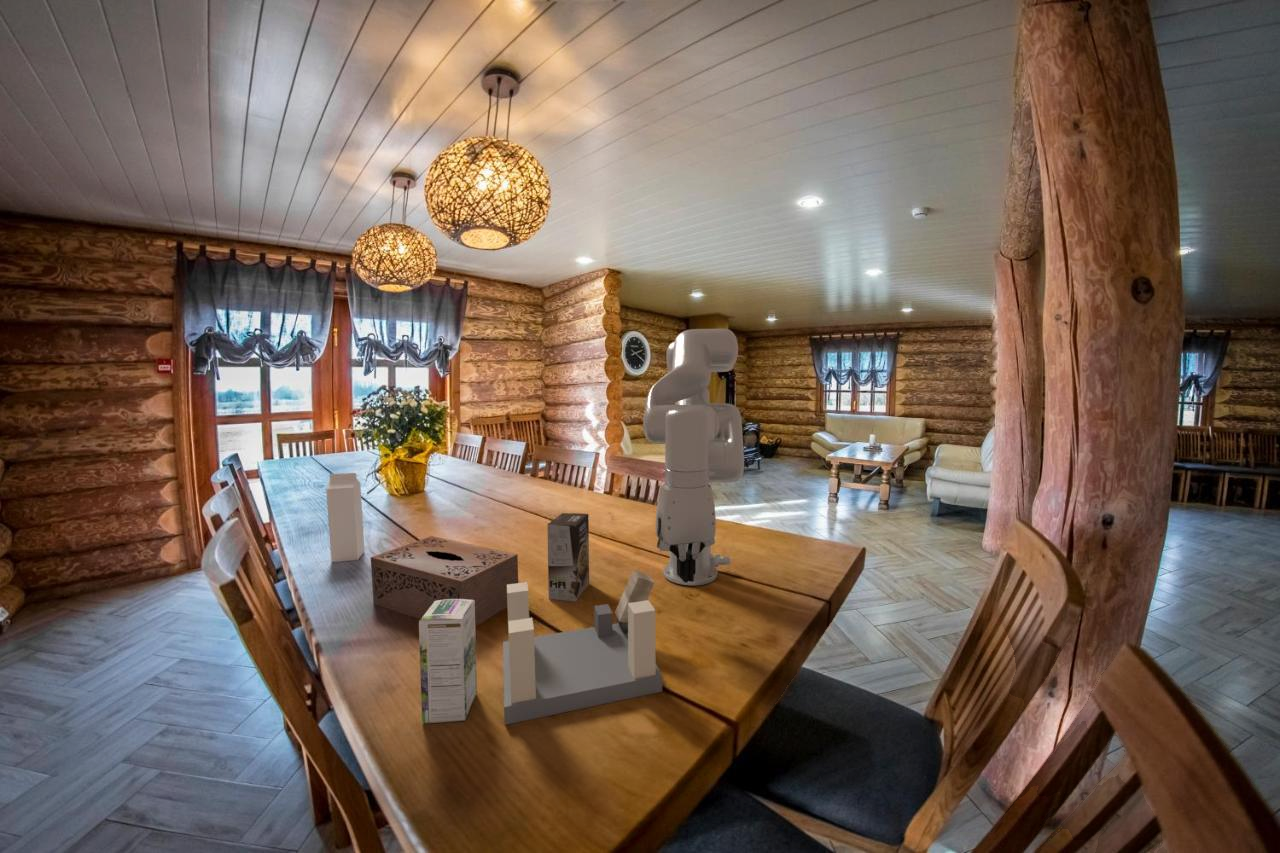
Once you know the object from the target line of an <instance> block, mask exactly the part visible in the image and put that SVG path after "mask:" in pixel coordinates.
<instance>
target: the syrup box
mask: <svg viewBox="0 0 1280 853" xmlns="http://www.w3.org/2000/svg"><path fill="white" fill-rule="evenodd" d="M418 635H419V636H418V637H419V640H418V642H419V669H420V700H421V722H422V723H423V724H434V723H435V724H437V723H451V722H460V721H461V722H462V721H463V722H464V721H466V720H467V719H468V718H467V717H468V715H469V713H470V710H471V707H472V704H473V702H474V701H475V697H476V695H477V694H478V692H477V690H478V689H477V688H478V686H477V684H478V683H477V645H476V643H477V641H476V640H477V638H476V627H475V601H474V600H468V599H445V600H437V601H434V603H433V604H432V605H431V607H430V608H429V609H428V611H427V612H426V613H425V614H424V616H423V617H422V618H421V619H419V621H418Z"/></svg>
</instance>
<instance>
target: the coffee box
mask: <svg viewBox="0 0 1280 853" xmlns="http://www.w3.org/2000/svg"><path fill="white" fill-rule="evenodd" d="M589 516H590V515H589V513H575V512H574V513H571V512H570V513H569V512H568V513H566V512H562V513H560V514H559V515H558V516H557V517H555V518H554V519H553V520H551V521H550V522H548V523H547V565H548V566H547V569H548V570H547V572H548V573H547V574H548V575H547V577H548V578H547V579H548V581H547V582H548V599H549V600H557V601H565V602H566V601H567V602H573V603H574V602H577V601H578V600H579V598H580V597H581V596H582V594H583V593H584V591H585V590H586V588H588V586H589V585H590V543H589V542H590V541H589V540H590V537H589V535H590V534H589V532H590V531H589V530H590V529H589V528H590V526H589V522H590V521H589Z"/></svg>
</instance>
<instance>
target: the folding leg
mask: <svg viewBox="0 0 1280 853" xmlns="http://www.w3.org/2000/svg"><path fill="white" fill-rule="evenodd" d="M654 586H655V581H654V580H653V579H652V577H651V575H649V574H646V573H644V572H641V571H638V570H635V569H633V570H632V571H631V574H630V575H629V578H628V581H627V583H626V586H625V588H624V591H623V592H622V595H621V597H620V599H619V601H618V605H617V606H616V609H615V611H614V613H615V616H616V617H615V619H616V621H617V622H616V623H618V624H619V626H620V628H621V630H622V631H623V632H624V633H628V603H633V602H640V601H647V600H648V599H649V596H650V595H651V592H652V590H653V588H654Z"/></svg>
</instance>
